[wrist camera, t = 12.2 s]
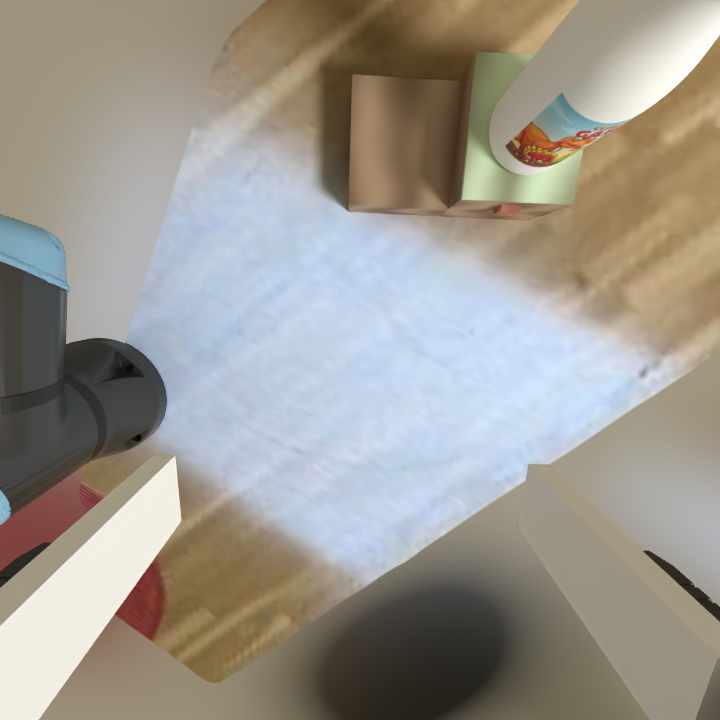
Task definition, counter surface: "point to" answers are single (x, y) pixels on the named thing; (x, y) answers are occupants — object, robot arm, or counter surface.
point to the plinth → (445, 148)
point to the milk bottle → (598, 76)
